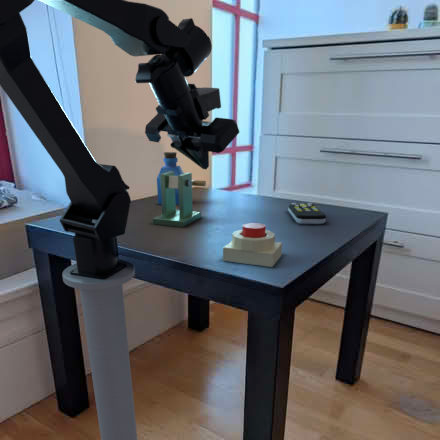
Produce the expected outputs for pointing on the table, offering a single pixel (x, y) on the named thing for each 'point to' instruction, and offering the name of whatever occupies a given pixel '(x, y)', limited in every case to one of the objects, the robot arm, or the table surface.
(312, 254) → the table surface
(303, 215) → the remote control
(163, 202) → the bracket
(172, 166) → the perfume bottle
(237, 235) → the control box
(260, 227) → the button
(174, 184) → the lever
